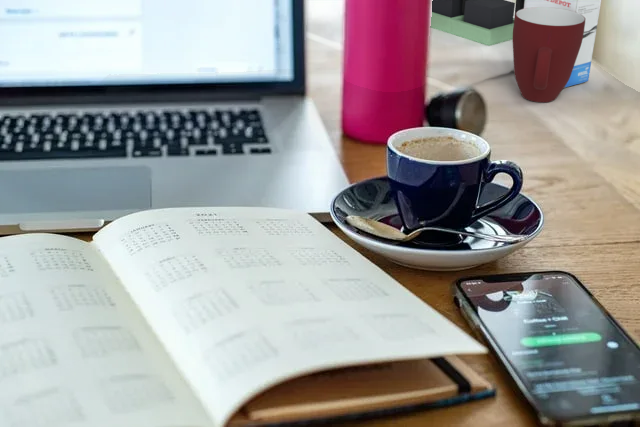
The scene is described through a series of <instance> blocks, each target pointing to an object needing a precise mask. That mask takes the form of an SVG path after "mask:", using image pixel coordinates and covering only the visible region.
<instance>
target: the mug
mask: <svg viewBox="0 0 640 427" xmlns="http://www.w3.org/2000/svg"><path fill="white" fill-rule="evenodd" d="M514 17H515V19H514V26H513V39H512V54H513V55H512V56H513V72H514V73H513V74H514V78H515V81H516V84H517V86H518V89H519V91H520V93H521V95H522V97H523V98H524V99H525V100H526V101H527V100H528V101H530V102H534V103H550V102H553V101H555V100H556V99H557V98H558V97H559V95H560V94H561V93H562V91H563V90H564V89H565V88H566V87H565V86H566V84H567V82H568V81H569V79H570V76H571V73H572V70H573V67H574V64H575V62H576V59H577V56H578V53H579V50H580V47H581V44H582V40H583V34H584V28H585V17H584V16H583V15H581V14H579V13H577V12H574V11H570V10H566V9H560V8H552V7H531V8H525V9H521V10H519V11H517V12H516V14H515V13H514ZM564 87H565V88H564Z"/></svg>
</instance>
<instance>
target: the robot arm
mask: <svg viewBox="0 0 640 427" xmlns="http://www.w3.org/2000/svg"><path fill="white" fill-rule="evenodd" d="M465 1H468V0H463V2H462V3H463V4H462V13H463V14H464V12H465ZM524 2H525V0H515V8H514V15H515V14H516V12H517V11H519V10H521V9H524ZM513 18H514V19H515V16H513Z"/></svg>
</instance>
